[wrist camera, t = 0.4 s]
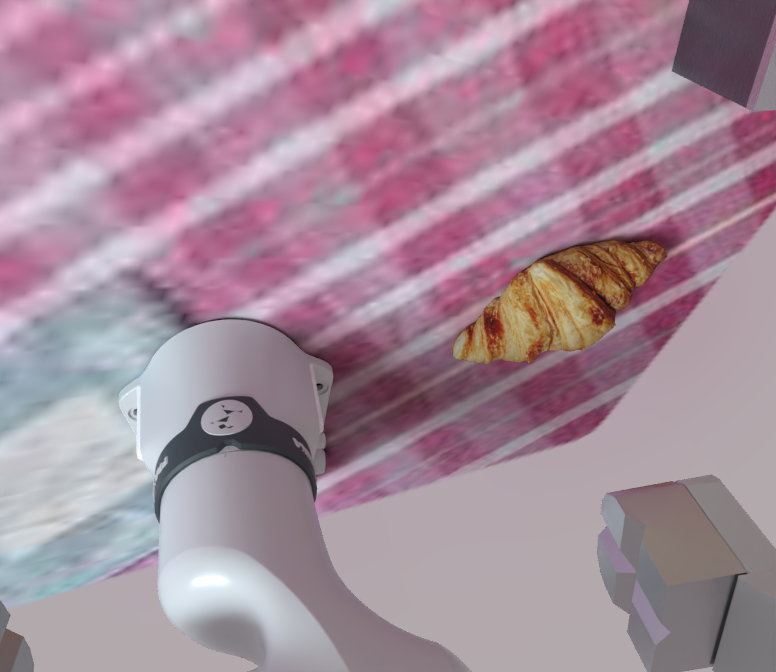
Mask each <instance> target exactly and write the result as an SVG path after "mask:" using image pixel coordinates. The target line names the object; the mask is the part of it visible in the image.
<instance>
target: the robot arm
mask: <svg viewBox="0 0 776 672" xmlns="http://www.w3.org/2000/svg"><path fill="white" fill-rule="evenodd" d="M332 382H333V369H332V367H331V365H330V364H328V363H327V362H325V361H323V360H321V359H319V358H316V357H313V356H310V355H308V354H306V353H305V352H303V351H302V350H301V349H300V348H299V347H298V346H297V345H296V344H295V343H294V342H293V341H292V340H290V339H289V338H288V337H287V336H285V335H284V334H282V333H281V332H279V331H277V330H275V329H274V328H271V327H269V326H266V325H263V324H260V323H257V322H252V321H246V320H233V319H230V320H217V321H211V322H206V323H202V324H199V325H196V326H193V327H191V328H188V329H186V330H184V331H182V332H180V333H178V334H177V335H175V336H174V337H172V338H171V339H170V340H168V341H167V342H166V343H165V344H164V345H163V346H162V347H161V348H160V349H159V350H158V351H157V352H156V353H155V355H154V356H153V358H152V359H151V361H150V363H149V365H148V366H147V368H146V370H145V371H144V373H143V374H142V375H141V376H140V377H138V378H137V379H135V380H134V381H132V382H131V383H130V384H128V385H127V386H126V387H125V388H123V389H122V391H121V392H120V393H119V406H120V409H121V410H122V412H123V414H124V415H125V417H126V419H127V421H128V422H129V424H130V426H131V427H132V429H133V431H134V433H135V434H136V436H137V456H138V459H139V460H143V462H144V464H145V466H146V468H147V469H148V471H149V472H150V474H151V475H152V476H153V478H154V482H153V500H154V501H155V514H156V517H157V519H158V522H159V523H160V531H159V559H158V586H157V587H158V594H159V599H160V603H161V606H162V608H163V610H164V612H165V614H166V616H167V617H168V619H169V620H170V621H171V623H172V624H173V625H174V626H175V627H176V628H177V629H178V630H179V631H181V632H182V633H183V634H184V635H186V636H187V637H189V638H190V639H192V640H193V641H195V642H197V643H198V644H200V645H202V646H204V647H206V648H209V649H212V650H215V651H218V652H222V653H226V654H230V655H234V656H238V657H241V658H245V659H247V660H249V661H252V662H253V663H255V664H257V665H258V666H259V667H258V668H256V669H254V670H252V671H249V672H471V671H470V670H469V668H468V667H467V666H466V665H465V664H464V663H463V662H462V661H461V660H460V659H459V658H458V657H457V656H456V655H454V654H453V653H452V652H451V651H449V650H448V649H446V648H445V647H443V646H442V645H440V644H438V643H436V642H433V641H430V640H427V639H424V638H421V637H419V636H416V635H413V634H411V633H408V632H406V631H404V630H402V629H400V628H398V627H396V626H394V625H392V624H391V623H389V622H388V621H386V620H384V619H383V618H381V617H380V616H378V615H377V614H376V613H374V612H373V611H372V610H370V609H369V608H368V607H367V606H365V605H364V604H363V603H362V602H361V601H360V600H359V599H358V598H357V597H356V596H354V594H353V593H352V592H351V591H350V590H349V589H348V588H347V587H346V585H345V584H344V583H343V581H342V580H341V579H340V577H339V576H338V574H337V572H336V571H335V569H334V567H333V565H332V562H331V560H330V557H329V554H328V551H327V549H326V545H325V542H324V539H323V535H322V532H321V528H320V525H319V520H318V516H317V512H316V508H315V500H316V494H317V485H316V481H317V479H316V477H317V476H316V474H323V473H324V472H325V466H326V460H325V452H324V450H322V449H324V448H325V445H326V437H325V434H324V433H322V432H323V430H324V421H325V416H326V411H327V407H328V402H329V397H330V392H331V387H332ZM318 383H321V385H319V386H316V384H318ZM135 409H137V410H135ZM601 515H602V517H603V519H604V521H605V522H606V524H607V526H606V528H605V529H604V530H603V531H602V532H601V533H600V534H599V536H598V547H597V555H598V561H599V567H600V572H601V575H602V578H603V581H604V584H605V587H606V589H607V591H608V593H609V595H610V597H611V600H612V602H613V603H614V604H615V605H617V606H618V607H620V608H622V609H623V610H624V611H626V612H627V613H629V614H630V616H629V623H628V630H627V632H628V634H629V636H630V638H631V640H632V642H633V644H634V646H635V648H636V650H637V652H638V654H639V656H640V658H641V660H642V662H643V664H644V666H645V668H646V670H647V672H682V671H688V670H694V669H701V668H707V667H713V669H712V670H713V671H714V672H776V549H775V548H774V546H773V545H772V544H771V543H770V541H769V540H768V539H767V538H766V536H765V535H764V534H763V533H762V531H761V530H760V529H759V528H758V526H757V525H756V524H755V523H754V521H753V520H752V519H751V518H750V516H749V515H748V514H747V513H746V512H745V510H744V509H743V508H742V507H741V505H740V504H739V503H738V502H737V500H736V499H735V498H734V497H733V496H732V494H731V493H730V492H729V490H728V489H727V488H726V487H725V485H724V484H723V483H722V482H721V480H720V479H718V478H717V477H715V476H713V475H707V476H701V477H696V478H690V479H684V480H678V481H676V482H672V481H670V482H665V483H660V484H654V485H649V486H644V487H638V488H632V489H627V490H621V491H616V492H611V493H606V495H605V496H604V498H603V500H602V506H601ZM9 618H10V614H9V612H8V611H7V609H6V608H5V607H4V605H3V604H2V602H1V601H0V672H34V663H33V659H32V655H31V651H30V648H29V646H28V644H27V642H26V641H25V639H24V637H23V636H21V635H19V634H17V633H15V632H12V631H10V630H8V629H6V626H7V623H8V621H9Z"/></svg>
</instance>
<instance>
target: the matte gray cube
mask: <svg viewBox="0 0 776 672" xmlns="http://www.w3.org/2000/svg"><path fill="white" fill-rule="evenodd" d="M672 71H673V72H675V73H677V74H679V75H681V76H683V77H685V78H687V79H689V80H691V81H693V82H695V83H697V84H699V85H701V86H703V87H705V88H707V89H709V90H711V91H713V92H715V93H717V94H719V95H721V96H723V97H725V98H727V99H729V100H731V101H733V102H735V103H737V104H739V105H741V106H743V107H745V108H747V109H749V110H751V111H768V110H776V0H689V4H688V8H687V12H686V17H685V21H684V25H683V29H682V33H681V37H680V41H679V45H678V49H677V53H676V57H675V61H674V65H673V69H672Z"/></svg>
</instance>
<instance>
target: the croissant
mask: <svg viewBox="0 0 776 672" xmlns="http://www.w3.org/2000/svg"><path fill="white" fill-rule="evenodd" d="M666 257H667V253H666V251H665V249H664V247H662V246H661V245H660V244H658V243H656V242H653V241H652V242H650V241H648V240H646V241H641V242H637V243H634V242H632V243H628V244H627V243H625V242H619V241H615V240H611V241H604V242H599V243H595V244H592V245H586V246H578V247H572V248H569V249H567V250H564V251H561V252H559V253H557V254H555V255H552V256H548V257H545V258H544V259H541V260H537V261H536V262H534V263H533V264H532V265H531V266H530V267H528V268H527V269H526V270H523V271H521V272H520V273H519V274H517V275H516V276H515V277H514V278H513V279H512V280H511V283H510V284H509V285H508V286H507V287H506V289H505V290H504V292H502V293H501V294H502V295H501V297H499V298H495V299H493V300H492V301H491V303H490V304H489V305H488V306H487V307H486V308H485V309H484V311H483V313H482V315H481V316H479V317H478V319H477V321H476V323H474V324H472V325H470V326H468V327H467V328H466V329H465V330H464V331H463V332H462V333H461V334H460V335H459V337H458V338H457V339H456V341H455V344H454V346H453V356H454V357H455V358H456V359H458V360H461V359H466V360H467V361H474V362H475V363H482V362H483V363H484V364H490V363H491V362H492V361H494V360H497V359H503V360H504V361H509V360H510V361H515V362H522V361H527V362H528V363H530V362H532V361H534V360H535V359H536V358H537V357H538V355H539V354H540V353H541V352H545V351H547V350H553V351H558V350H565V351H574V350H584V349H585V348H587V347H588V346H590V345H592V344H594V343H595V342H596V341H598V340H599V339H601V338H602V337H603V336H604V335H605V334H606V333H607V332H609V331H610V330H611V329H612V328H613V326H615V314H616V313H617V312H618V311H619V310H621V309H624V308H625V307H626V306H628V305H629V303H630V301H631V292H632V291H633V288H634V287H635V286H636V287H638V286H641V285H643V284H644V283H645V282H646V281H647V280H648V279H649V278H650V277H651V275H652V273H653V271H654V270H655V268H656V266H657V265H658V264H659V263H660V262H661V261H663V260H664V259H665V258H666Z"/></svg>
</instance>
